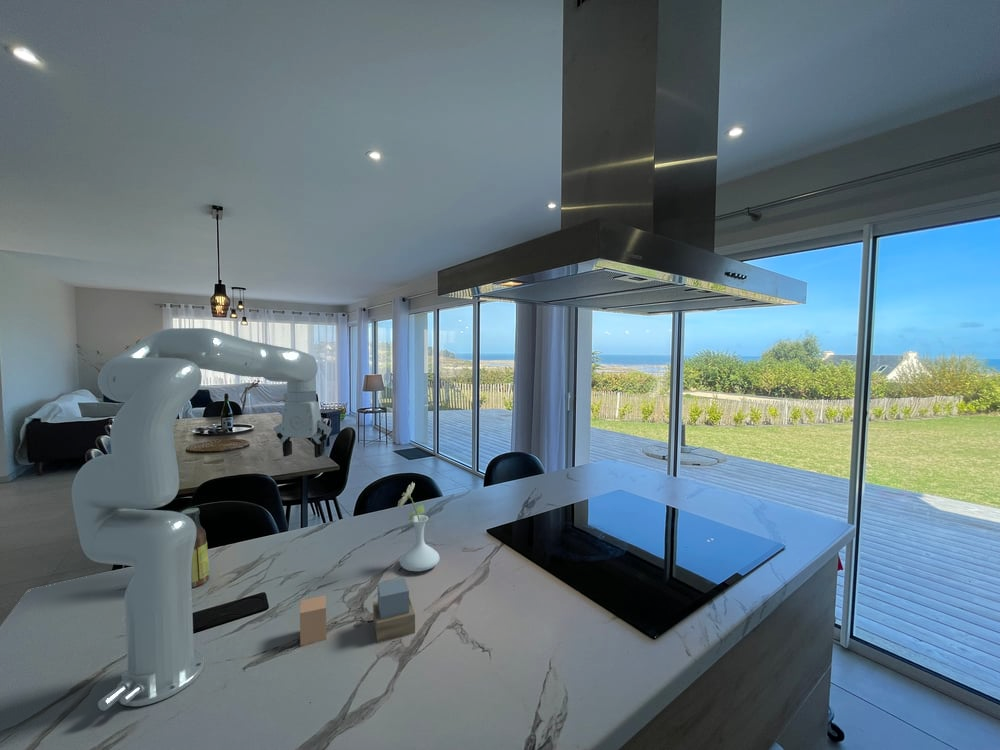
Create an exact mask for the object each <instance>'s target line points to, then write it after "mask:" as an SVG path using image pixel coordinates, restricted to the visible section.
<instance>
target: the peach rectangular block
mask: <svg viewBox="0 0 1000 750" xmlns="http://www.w3.org/2000/svg"><path fill="white" fill-rule="evenodd" d="M299 635H300V636H299V637H300V638H299V639H300V645H299V646H306V645H310V644H313V643H317V642H322V641H326V640H327V595H326V594H325V595H320V596H315V597H311V598H305V599H301V600H300V607H299Z"/></svg>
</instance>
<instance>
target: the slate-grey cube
mask: <svg viewBox="0 0 1000 750" xmlns="http://www.w3.org/2000/svg"><path fill="white" fill-rule="evenodd" d="M409 598H410V590H409V587H408V584H407V581H406V578H405V576H402V577H398V578H393V579H389V580H384V581H379V582H377V601H378V608H379V613H380V618H381V619H385V618H390V617H394V616H398V615H403V614H407V613H409Z"/></svg>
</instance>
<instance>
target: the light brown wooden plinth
mask: <svg viewBox="0 0 1000 750" xmlns="http://www.w3.org/2000/svg"><path fill="white" fill-rule="evenodd" d="M415 613H416V612H415V610H414V607H413V604H412V601H411V598H410V597H409V613H407V614H403V615H398V616H394V617H390V618H385V619H381V618H380V613H379V608H378V600H377V601H373V602H372V620H373V627H374V632H375V638H376V643H381V641H382V642H385V641H389V640H393V639H397V638H402V637H404V636H409V635H413V634H415V633H416V614H415Z"/></svg>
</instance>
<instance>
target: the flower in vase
mask: <svg viewBox="0 0 1000 750" xmlns="http://www.w3.org/2000/svg"><path fill="white" fill-rule="evenodd" d="M415 485H416V484H415V482H413V481H412V482H411V483H410V484H409V485H408V486H407V488H406V492H403V493H402V494H401V496H402V497H401V498H400V499H399V500H398V502H397V507H398V508H401V507H402V506H403V505H405V503H407V500H408V499H409V500H410V501H411V503H412V505H413V507H414V511H412V512H411V513H410V514H409V515H408V517H407V520H406V521H409V520H410V521H411V522H412V524H413V526H414V530H415V543H414V544H413V545H412V546H411V547H409V548H408V549H407V550H406V551H404V553H403V554H402V555H401V557H400V559H399V565H400V567H402V568H403V569H404V570H407V571H410V572H423V571H427V570H430V569H433V568H434V567H436V566H437V565H438V564H439V562H440V560H441V558H440V554H439V553H438V551H437V550H435V549H434V548H433V547H432V546H430V545H428V544H426V542H425V540H424V539H425V538H424V537H425V535H424V534H425V525H426V523H427V521H428V520H429V517H428V515H423V514H424V513H425V506H424V504H423V502H421V503H420V504H419V505H418V506H417V507H416V505H415V502H414V501H413V500H414V499H413V497H411V494H412V493H413V491H414V489H415Z"/></svg>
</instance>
